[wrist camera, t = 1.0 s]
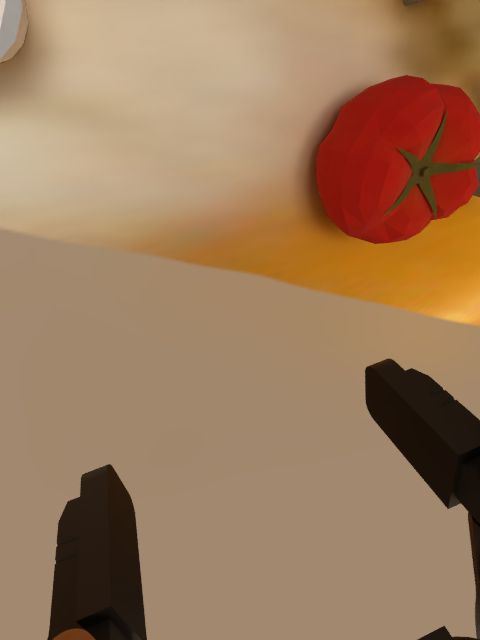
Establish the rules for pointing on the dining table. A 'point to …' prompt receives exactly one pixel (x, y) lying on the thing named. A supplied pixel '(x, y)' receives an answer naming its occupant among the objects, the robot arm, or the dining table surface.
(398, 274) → the dining table surface
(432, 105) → the tomato
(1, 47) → the white cylindrical piece
